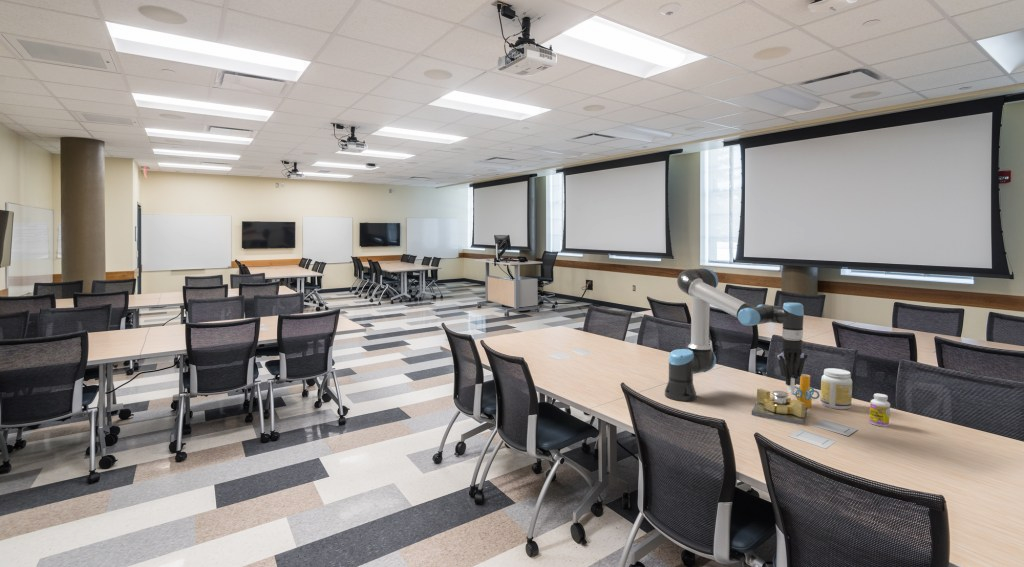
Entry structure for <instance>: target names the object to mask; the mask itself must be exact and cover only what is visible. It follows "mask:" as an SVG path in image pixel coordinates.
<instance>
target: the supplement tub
mask: <svg viewBox="0 0 1024 567" xmlns="http://www.w3.org/2000/svg"><path fill="white" fill-rule="evenodd" d="M851 377H852V376H851V372H850V371H849V370H846V369H841V368H834V367H833V368H832V367H831V368H829V367H828V368H824V370H823V375H821V379H820V380H821V381H820V382H821V383H820V403H821V405H822V406H824V407H826V408H830V409H834V410H849V409H850V408H851V407H852V400H853V399H852V398H853V380H852V378H851Z"/></svg>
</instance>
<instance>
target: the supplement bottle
mask: <svg viewBox="0 0 1024 567" xmlns="http://www.w3.org/2000/svg"><path fill="white" fill-rule="evenodd" d="M888 398H889V396H888V394H884V393H878V392H877V393H876V392H875V393H874V394H873V398H872V399H871V400H870V402H869V403H870V406H869V418H868V419H869V420H868V421H869V423H870V424H872V425H874V426H876V427H884V428H887V427H888V426H889V424H890V412H891V403H890V402H889V401H888Z"/></svg>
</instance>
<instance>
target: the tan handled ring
mask: <svg viewBox="0 0 1024 567" xmlns="http://www.w3.org/2000/svg"><path fill="white" fill-rule="evenodd" d="M757 402H760V403H762V404H764V408H765V409H767V410H769V411H772V412H776V413H783V414H787V413H788V414H793V415H796V416H798V417H805V403H803V402H800V401H797V399H792V400H791V397H789V396H787V398H786V405H777V404H775V401H774V396H772V397H771V391H769V390H766V389H763V388H757V389H756V403H757ZM805 418H806V417H805Z"/></svg>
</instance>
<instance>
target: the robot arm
mask: <svg viewBox="0 0 1024 567" xmlns="http://www.w3.org/2000/svg"><path fill="white" fill-rule="evenodd" d="M718 285H719V278H718V275H717V273H716V272H715V271H713V269H710V268H704V267H703V268H701V267H700V268H690V269H685V270H683V271H681V272H680V273H679V275H678V277H677V286H678V289H680V290H681V291H682V292H683V293H685V294H686V295H688V296H690V298H691V321H690V325H691V326H690V343H689V344H688V345H687V349H686V348H681V349H679V348H678V349H674V350H672V351H671V352H670V353H669V357H668V381H667V384H666V387H665V388H664V396H665V398H668V399H670V400H674V401H679V402H680V401H681V402H691V401H695V400H696V399H697V392H696V391H697V390H696V388H695V385H694V375H696V374H699V373H707V372H709V371H711V370H712V369H714V367H715V365H716V363H717V357H716V354H715V351H713V348H712V346H711V345H710V344H709V343H710V342H709V341H710V340H709V338H710V336H709V335H710V310H711V309H710V306H711V305H712V306H714V307H716V308H717V309H720V311H723V312H725V313H727V314H729V315H731V316H733V317H735V318H737V319H738V322H740V324H741V325H743V326H745V327H746V326H751V327H752V326H756V325H762V324H768V323H771V324H772V323H774V324H782V335H781V337H782V340H781V346H782V350H781V353H780V354H776V359H777V360H778V365H779V369H780V374H781V376H782V377H784V378H785V385H786V393H788V394H792V393H795V389H796V388H795V386H796V385H797V379H798V380H799V378H800V376H801V374H803V371H804V366H805V362H806V360H807V358H808V355H807V354H805V353H804V352H803V350H802V349H803V340H802V339H804V338H803V335H804V316H805V314H804V313H805V312H804V305H803V303H800V302H784V303H783V305H782V306H780V305H779V306H778V305H771V304H758V305H757V306H753V305H751V304H749V303H746V302H745V301H743V300H741V299H738V298H736V297H734V296H733V295H730V294H728V293H726V292H724V291H722V290H720V289H718V288H717V287H718ZM792 395H793V394H792Z"/></svg>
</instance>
